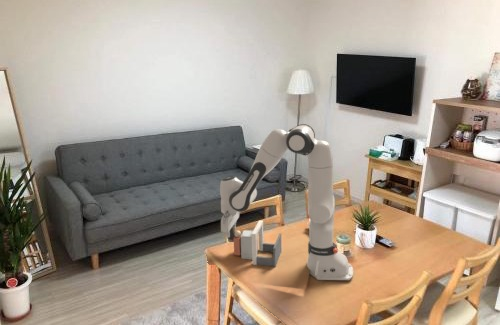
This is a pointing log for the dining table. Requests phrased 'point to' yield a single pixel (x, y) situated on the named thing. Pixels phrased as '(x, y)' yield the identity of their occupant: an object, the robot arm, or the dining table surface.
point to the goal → (264, 247)
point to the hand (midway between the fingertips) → (231, 233)
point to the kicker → (235, 240)
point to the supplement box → (246, 245)
